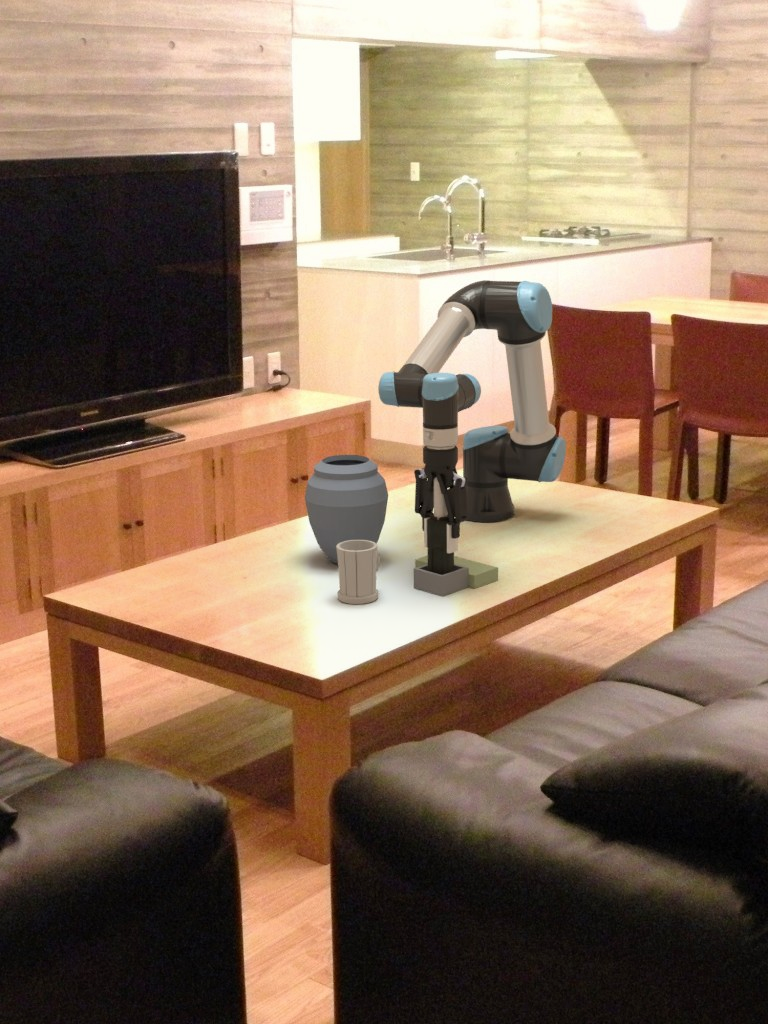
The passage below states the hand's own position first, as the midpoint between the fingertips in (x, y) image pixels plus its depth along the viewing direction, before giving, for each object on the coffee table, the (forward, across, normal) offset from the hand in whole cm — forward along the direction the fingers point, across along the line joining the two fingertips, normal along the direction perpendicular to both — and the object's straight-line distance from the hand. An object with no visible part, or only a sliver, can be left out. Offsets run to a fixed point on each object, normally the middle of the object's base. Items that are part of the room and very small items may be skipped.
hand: (440, 548), depth 303 cm
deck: (+9, -3, +4) cm, 10 cm away
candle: (+6, 0, 0) cm, 6 cm away
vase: (+9, -30, 0) cm, 31 cm away
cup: (+9, -9, -17) cm, 21 cm away
